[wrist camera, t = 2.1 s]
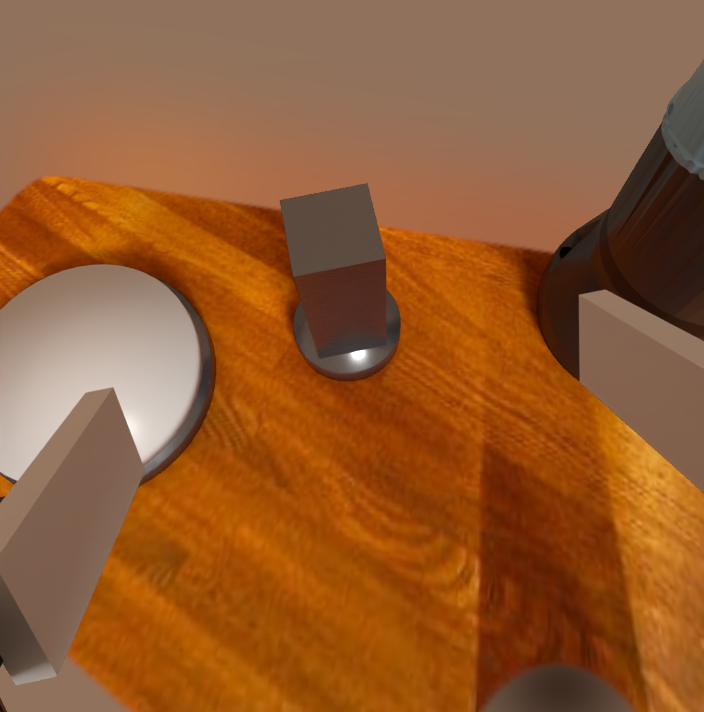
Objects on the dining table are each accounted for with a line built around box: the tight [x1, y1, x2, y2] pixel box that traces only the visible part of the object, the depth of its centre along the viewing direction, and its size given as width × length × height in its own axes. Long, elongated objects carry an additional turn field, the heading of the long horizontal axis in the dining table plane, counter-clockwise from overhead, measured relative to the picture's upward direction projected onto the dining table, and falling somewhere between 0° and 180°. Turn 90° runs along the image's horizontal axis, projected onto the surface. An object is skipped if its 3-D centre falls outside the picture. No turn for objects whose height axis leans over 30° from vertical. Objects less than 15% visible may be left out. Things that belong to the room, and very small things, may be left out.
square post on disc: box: [280, 183, 400, 381], centre depth 37 cm, size 8×8×14 cm
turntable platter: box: [0, 264, 203, 481], centre depth 41 cm, size 17×17×2 cm
